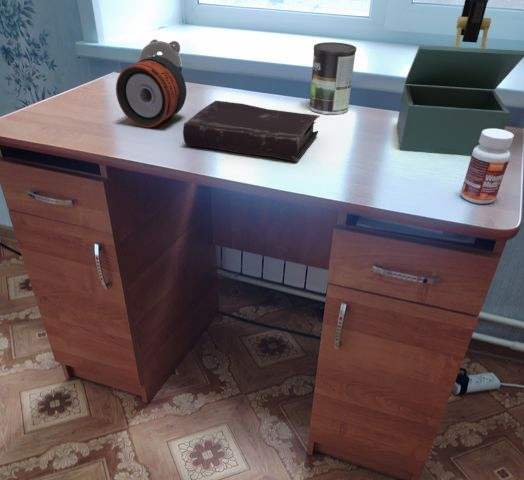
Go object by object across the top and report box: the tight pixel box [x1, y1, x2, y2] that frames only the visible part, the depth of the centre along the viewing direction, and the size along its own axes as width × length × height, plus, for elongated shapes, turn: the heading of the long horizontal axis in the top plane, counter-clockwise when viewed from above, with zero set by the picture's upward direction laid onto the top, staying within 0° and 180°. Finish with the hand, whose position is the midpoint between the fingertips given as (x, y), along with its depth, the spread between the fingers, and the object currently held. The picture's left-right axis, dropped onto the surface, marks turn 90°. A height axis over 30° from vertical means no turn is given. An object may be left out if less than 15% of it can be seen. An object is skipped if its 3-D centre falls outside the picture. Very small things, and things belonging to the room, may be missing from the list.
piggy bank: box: [138, 38, 183, 73], centre depth 138 cm, size 11×15×12 cm
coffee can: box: [308, 41, 358, 116], centre depth 126 cm, size 10×10×14 cm
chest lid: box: [404, 16, 524, 91], centre depth 105 cm, size 18×20×7 cm
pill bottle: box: [460, 129, 515, 205], centre depth 88 cm, size 6×6×11 cm
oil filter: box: [115, 56, 187, 128], centre depth 116 cm, size 13×12×13 cm
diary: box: [182, 100, 320, 162], centre depth 110 cm, size 19×25×5 cm
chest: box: [396, 84, 511, 157], centre depth 112 cm, size 17×20×9 cm
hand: (466, 38), depth 102 cm, fingers open, 7 cm apart
